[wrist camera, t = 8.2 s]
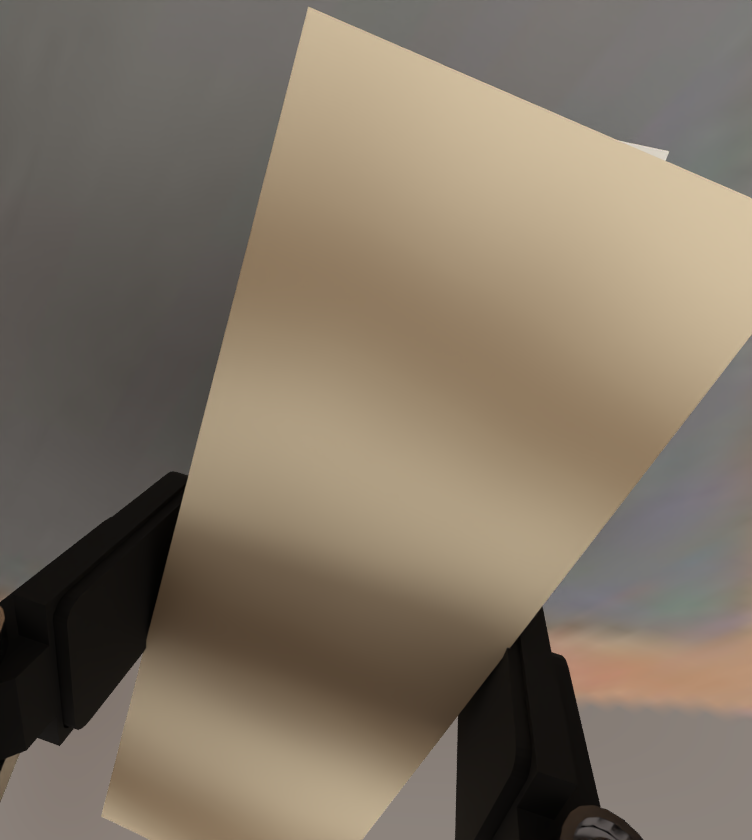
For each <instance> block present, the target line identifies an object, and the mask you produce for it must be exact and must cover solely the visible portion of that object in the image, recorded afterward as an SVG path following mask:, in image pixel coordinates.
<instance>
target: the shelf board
mask: <svg viewBox="0 0 752 840" xmlns="http://www.w3.org/2000/svg"><path fill="white" fill-rule="evenodd" d="M751 335H752V198H750V197H748V196H745V195H743V194H741V193H738V192H736V191H734V190H731V189H729V188H727V187H725V186H722V185H720V184H718V183H715V182H713V181H711V180H708V179H706V178H704V177H701V176H699V175H697V174H694V173H692V172H690V171H687V170H685V169H683V168H681V167H678V166H676V165H674V164H671V163H669V162H667V161H664V160H662V159H660V158H657V157H655V156H653V155H650V154H648V153H646V152H643V151H641V150H639V149H637V148H634V147H632V146H630V145H627V144H625V143H623V142H620V141H618V140H616V139H613V138H611V137H609V136H606V135H604V134H602V133H599V132H597V131H595V130H593V129H590V128H588V127H586V126H583V125H581V124H579V123H576V122H574V121H572V120H569V119H567V118H565V117H562V116H560V115H558V114H556V113H553V112H551V111H549V110H546V109H544V108H542V107H539V106H537V105H535V104H532V103H530V102H528V101H525V100H523V99H521V98H518V97H516V96H514V95H512V94H509V93H507V92H505V91H502V90H500V89H498V88H495V87H493V86H491V85H488V84H486V83H484V82H481V81H479V80H477V79H474V78H472V77H470V76H468V75H465V74H463V73H461V72H458V71H456V70H454V69H451V68H449V67H447V66H444V65H442V64H440V63H437V62H435V61H433V60H431V59H428V58H426V57H424V56H421V55H419V54H417V53H414V52H412V51H410V50H407V49H405V48H403V47H400V46H398V45H396V44H393V43H391V42H389V41H387V40H384V39H382V38H380V37H377V36H375V35H373V34H370V33H368V32H366V31H363V30H361V29H359V28H356V27H354V26H352V25H349V24H347V23H345V22H343V21H340V20H338V19H336V18H333V17H331V16H329V15H326V14H324V13H322V12H319V11H317V10H315V9H312V8H310V7H308V10H307V14H306V18H305V22H304V26H303V30H302V34H301V38H300V42H299V46H298V49H297V53H296V57H295V61H294V65H293V69H292V73H291V77H290V81H289V85H288V89H287V92H286V96H285V100H284V104H283V108H282V112H281V116H280V120H279V124H278V128H277V132H276V135H275V139H274V143H273V147H272V151H271V155H270V159H269V163H268V167H267V171H266V174H265V178H264V182H263V186H262V190H261V194H260V198H259V202H258V206H257V210H256V214H255V217H254V221H253V225H252V229H251V233H250V237H249V241H248V245H247V249H246V253H245V257H244V260H243V264H242V268H241V272H240V276H239V280H238V284H237V288H236V292H235V296H234V300H233V303H232V307H231V311H230V315H229V319H228V323H227V327H226V331H225V335H224V339H223V343H222V346H221V350H220V354H219V358H218V362H217V366H216V370H215V374H214V378H213V382H212V386H211V389H210V393H209V397H208V401H207V405H206V409H205V413H204V417H203V421H202V425H201V429H200V432H199V436H198V440H197V444H196V448H195V452H194V456H193V460H192V464H191V468H190V471H189V475H188V479H187V483H186V487H185V491H184V495H183V499H182V503H181V507H180V511H179V514H178V518H177V522H176V526H175V530H174V534H173V538H172V542H171V546H170V550H169V554H168V557H167V561H166V565H165V569H164V573H163V577H162V581H161V585H160V589H159V593H158V597H157V600H156V604H155V608H154V612H153V616H152V620H151V624H150V628H149V632H148V636H147V640H146V649H145V651H144V652H143V655H142V659H141V663H140V667H139V671H138V675H137V679H136V683H135V686H134V690H133V695H132V698H131V702H130V706H129V710H128V714H127V718H126V722H125V726H124V729H123V734H122V737H121V741H120V745H119V749H118V753H117V757H116V761H115V765H114V769H113V772H112V776H111V780H110V784H109V788H108V792H107V796H106V800H105V804H104V808H103V811H102V815H101V817H104V818H106V819H108V820H110V821H112V822H114V823H116V824H118V825H120V826H122V827H125V828H126V829H129V830H131V831H133V832H135V833H137V834H139V835H141V836H143V837H145V838H147V839H149V840H362V839H363V838H364V837H365V835H366V834H367V833H368V831H369V830H370V829H371V827H372V826H373V825H374V824H375V822H376V821H377V820H378V819H379V817H380V816H381V815H382V813H383V812H384V811H385V810H386V808H387V807H388V806H389V804H390V803H391V802H392V800H393V799H394V798H395V797H396V795H397V794H398V793H399V791H400V790H401V789H402V787H403V786H404V785H405V784H406V782H407V781H408V780H409V778H410V777H411V776H412V774H413V773H414V772H415V771H416V769H417V768H418V767H419V765H420V764H421V763H422V761H423V760H424V759H425V758H426V756H427V755H428V754H429V752H430V751H431V750H432V749H433V747H434V746H435V745H436V743H437V742H438V741H439V739H440V738H441V737H442V736H443V734H444V733H445V732H446V730H447V729H448V728H449V726H450V725H451V724H452V723H453V721H454V720H455V719H456V717H457V716H458V715H459V713H460V712H461V711H462V710H463V708H464V707H465V706H466V704H467V703H468V702H469V701H470V699H471V698H472V697H473V695H474V694H475V693H476V691H477V690H478V689H479V688H480V686H481V685H482V684H483V682H484V681H485V680H486V678H487V677H488V676H489V675H490V673H491V672H492V671H493V669H494V668H495V667H496V665H497V664H498V663H499V662H500V660H501V659H502V658H503V656H504V653H505V651H506V649H507V647H508V648H510V647H511V646H512V645H513V643H514V642H515V641H516V640H517V638H518V637H519V636H520V634H521V633H522V632H523V630H524V629H525V628H526V627H527V625H528V624H529V623H530V621H531V620H532V619H533V617H534V616H535V615H536V614H537V612H538V611H539V610H540V608H541V607H542V606H543V604H544V603H545V602H546V601H547V599H548V598H549V597H550V595H551V594H552V593H553V592H554V590H555V589H556V588H557V586H558V585H559V584H560V582H561V581H562V580H563V579H564V577H565V576H566V575H567V573H568V572H569V571H570V569H571V568H572V567H573V566H574V564H575V563H576V562H577V560H578V559H579V558H580V556H581V555H582V554H583V553H584V551H585V550H586V549H587V547H588V546H589V545H590V543H591V542H592V541H593V540H594V538H595V537H596V536H597V534H598V533H599V532H600V531H601V529H602V528H603V527H604V525H605V524H606V523H607V521H608V520H609V519H610V518H611V516H612V515H613V514H614V512H615V511H616V510H617V508H618V507H619V506H620V505H621V503H622V502H623V501H624V499H625V498H626V497H627V495H628V494H629V493H630V492H631V490H632V489H633V488H634V486H635V485H636V484H637V483H638V481H639V480H640V479H641V477H642V476H643V475H644V473H645V472H646V471H647V470H648V468H649V467H650V466H651V464H652V463H653V462H654V460H655V459H656V458H657V457H658V455H659V454H660V453H661V451H662V450H663V449H664V447H665V446H666V445H667V444H668V442H669V441H670V440H671V438H672V437H673V436H674V434H675V433H676V432H677V431H678V429H679V428H680V427H681V425H682V424H683V423H684V422H685V420H686V419H687V418H688V416H689V415H690V414H691V412H692V411H693V410H694V409H695V407H696V406H697V405H698V403H699V402H700V401H701V399H702V398H703V397H704V396H705V394H706V393H707V392H708V390H709V389H710V388H711V386H712V385H713V384H714V383H715V381H716V380H717V379H718V377H719V376H720V375H721V374H722V372H723V371H724V370H725V368H726V367H727V366H728V364H729V363H730V362H731V361H732V359H733V358H734V357H735V355H736V354H737V353H738V351H739V350H740V349H741V348H742V346H743V345H744V344H745V342H746V341H747V340H748V338H749V337H750V336H751Z"/></svg>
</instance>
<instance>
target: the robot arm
mask: <svg viewBox="0 0 752 840" xmlns="http://www.w3.org/2000/svg"><path fill="white" fill-rule="evenodd" d="M187 479H188V475H184V474H181V473H178V472H174V471H172V472H169V473H168V474H166V475H165V476H164V477H162V478H161V479H160V480H159V481H157V482H156V483H155V484H154V485H152V486H151V487H150V488H148V489H147V490H146V491H145V492H143V493H142V494H141V495H139V496H138V497H137V498H136V499H134V500H133V501H132V502H131V503H129V504H128V505H127V506H125V507H124V508H123V509H122V510H120V511H119V512H118V513H116V514H115V515H114V516H113V517H110V518H109V519H107V520H105V521H104V522H102V523H101V524H100V525H99V526H97V527H96V528H95V529H93V530H92V531H91V532H90V533H88V534H87V535H86V536H84V537H83V538H82V539H81V540H79V541H78V542H77V543H75V544H74V545H73V546H72V547H70V548H69V549H68V550H66V551H65V552H64V553H63V554H61V555H60V556H59V557H57V558H56V559H55V560H54V561H52V562H51V563H50V564H49V565H47V566H46V567H45V568H43V569H42V570H41V571H40V572H38V573H37V574H36V575H34V576H33V577H32V578H31V579H29V580H28V581H27V582H25V583H24V584H23V585H22V586H20V587H19V588H18V589H16V590H15V591H14V592H13V593H11V594H10V595H9V596H7V597H6V598H5V599H4V600H2V601H1V602H0V802H1V799H2V797H3V794H4V792H5V789H6V787H7V784H8V782H9V779H10V777H11V774H12V772H13V769H14V766H15V764H16V761H17V759H18V757H19V754H20V753H21V752H23V751H26V750H27V749H28V748H29V747H30V745H31V744H32V743H33V742H34V741H35V740H36V739H37V738H40V739H42V740H45V741H48V742H50V743H53V744H56V745H59V746H60V745H61V744H62V743H63V741H64V740H65V739H66V738H67V736H68V735H69V734H70V733H71V731H72V730H73V729H77V730H79V729H81V728H83V727H84V726H85V725H86V724H87V723H88V722H89V721H90V719H91V718H92V717H93V716H94V714H95V713H96V712H97V710H98V709H99V708H100V707H101V705H102V704H103V703H104V702H105V700H106V699H107V698H108V697H109V695H110V694H111V693H112V691H113V690H114V689H115V688H116V686H117V685H118V683H120V681H121V680H122V679H123V677H124V676H125V675H126V674H127V672H128V671H129V670H130V668H131V667H132V666H133V665H134V663H135V662H136V661H137V660H138V658H139V657H140V656H141V654H142V653H143V652H144V651H145V649H146V640H147V636H148V632H149V628H150V624H151V620H152V616H153V612H154V608H155V604H156V600H157V597H158V593H159V589H160V585H161V581H162V577H163V573H164V569H165V565H166V561H167V557H168V554H169V550H170V546H171V542H172V538H173V534H174V530H175V526H176V522H177V518H178V514H179V511H180V507H181V503H182V499H183V495H184V491H185V487H186V483H187ZM457 745H458V746H457V785H456V829H455V840H643V838H642V837H641V836H640V835H639V834H638V832H636V831H635V830H634V829H633V828H632V827H631V826H630V825H629V824H628V823H627V822H625V820H624V819H622V818H620V817H619V816H617V815H615V814H614V813H612V812H611V811H609V810H607V809H604V808H601V807H600V803H599V798H598V794H597V790H596V785H595V781H594V777H593V773H592V768H591V764H590V760H589V755H588V751H587V746H586V742H585V738H584V733H583V729H582V724H581V720H580V716H579V711H578V707H577V703H576V698H575V694H574V690H573V685H572V681H571V677H570V672H569V668H568V665H567V662H566V660H565V658H564V657H563V656H562V655H559V654H556V653H552V652H551V647H550V642H549V637H548V632H547V627H546V622H545V617H544V612H543V607H541V608H540V610H539V611H538V612H537V614H536V615H535V616H534V617H533V619H532V620H531V621H530V623H529V624H528V625H527V627H526V628H525V629H524V630H523V632H522V633H521V634H520V636H519V637H518V638H517V640H516V641H515V642H514V643H513V645H512V646H511V647H510V648H508V647H507V649H506V651H505V653H504V656H503V658H502V659H501V660H500V662H499V663H498V664H497V665H496V667H495V668H494V669H493V671H492V672H491V673H490V675H489V676H488V677H487V678H486V680H485V681H484V682H483V684H482V685H481V686H480V688H479V689H478V690H477V691H476V693H475V694H474V695H473V697H472V698H471V699H470V701H469V702H468V703H467V704H466V706H465V707H464V708H463V710H462V711H461V712H460V713H459V715H458V742H457Z"/></svg>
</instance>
